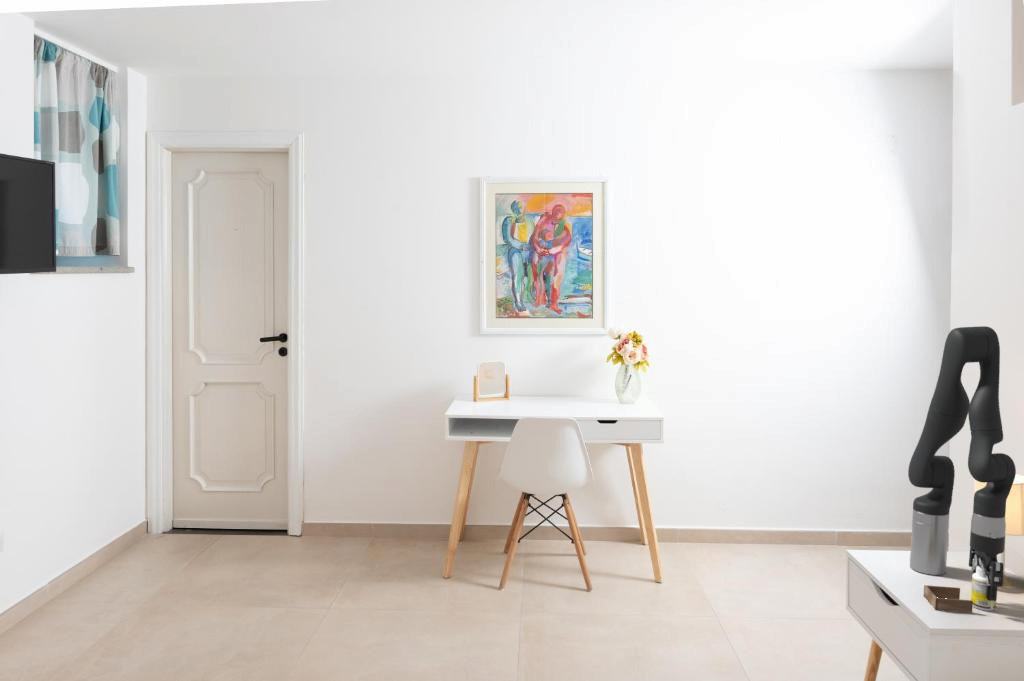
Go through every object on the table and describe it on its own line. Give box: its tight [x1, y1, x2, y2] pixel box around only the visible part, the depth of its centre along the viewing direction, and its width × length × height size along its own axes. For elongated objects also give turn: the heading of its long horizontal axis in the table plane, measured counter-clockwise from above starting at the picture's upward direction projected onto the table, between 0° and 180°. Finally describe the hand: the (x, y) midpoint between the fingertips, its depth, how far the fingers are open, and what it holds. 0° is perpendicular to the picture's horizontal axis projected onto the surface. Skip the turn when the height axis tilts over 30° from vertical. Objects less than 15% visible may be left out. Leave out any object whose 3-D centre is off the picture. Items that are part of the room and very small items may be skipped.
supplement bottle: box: [970, 566, 997, 612], centre depth 201 cm, size 6×6×10 cm
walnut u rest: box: [923, 584, 974, 614], centre depth 202 cm, size 9×9×3 cm
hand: (983, 593), depth 201 cm, fingers open, 8 cm apart
